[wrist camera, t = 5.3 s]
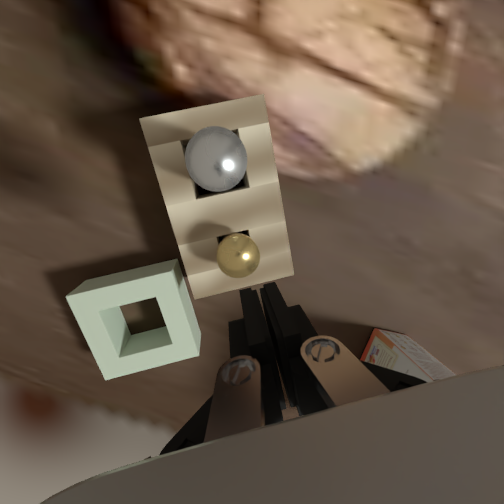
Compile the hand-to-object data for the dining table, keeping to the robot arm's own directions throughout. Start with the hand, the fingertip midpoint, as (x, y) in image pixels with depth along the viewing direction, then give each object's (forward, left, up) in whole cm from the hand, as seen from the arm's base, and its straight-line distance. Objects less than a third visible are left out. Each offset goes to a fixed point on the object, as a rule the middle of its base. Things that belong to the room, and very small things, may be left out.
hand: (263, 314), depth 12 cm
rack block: (+6, -12, -18) cm, 22 cm away
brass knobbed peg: (0, 0, -17) cm, 18 cm away
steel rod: (-7, 0, -18) cm, 19 cm away
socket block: (-4, 0, -18) cm, 18 cm away
